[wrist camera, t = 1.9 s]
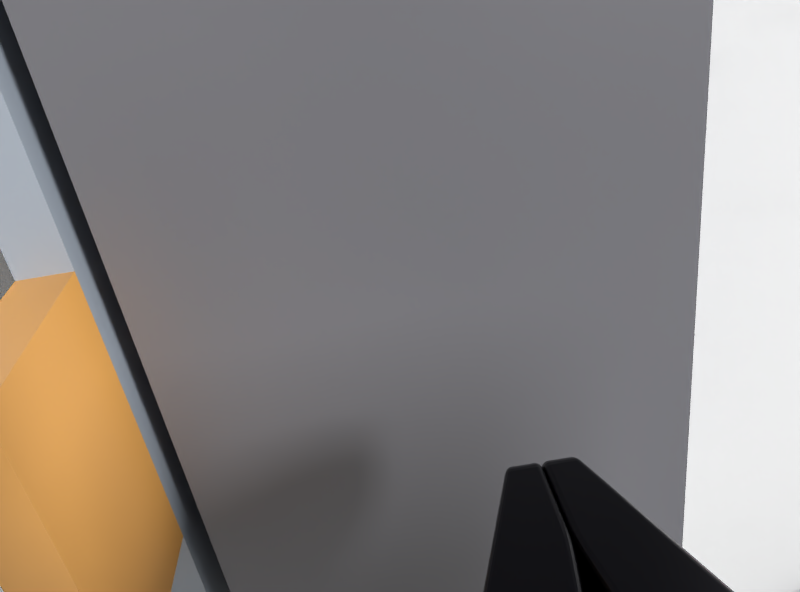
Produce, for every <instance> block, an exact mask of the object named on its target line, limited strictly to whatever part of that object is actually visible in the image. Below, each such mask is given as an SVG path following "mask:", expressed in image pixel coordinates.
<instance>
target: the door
mask: <svg viewBox="0 0 800 592" xmlns="http://www.w3.org/2000/svg"><path fill="white" fill-rule="evenodd" d="M0 250H1V252H2V254H3V256H4V258H5V261H6V263H7V265H8V267H9V269H10V272H11V274H12V276H13V278H14V280H15V282H14V283H13V284H12V286H11V287H10V288H9V289H8V291H7V292H6V293H5V295H4V296H3V297H2V299H1V300H0V586H1V588H2V589H3V591H4V592H230V590H229V587H228V585H227V582H226V580H225V577H224V574H223V572H222V569H221V567H220V564H219V562H218V559H217V556H216V554H215V551H214V549H213V546H212V543H211V541H210V538H209V536H208V533H207V530H206V528H205V525H204V523H203V520H202V517H201V515H200V512H199V510H198V507H197V505H196V502H195V499H194V497H193V494H192V492H191V489H190V486H189V484H188V481H187V479H186V476H185V473H184V471H183V468H182V466H181V463H180V461H179V458H178V455H177V453H176V450H175V448H174V445H173V442H172V440H171V437H170V435H169V432H168V429H167V427H166V424H165V422H164V419H163V417H162V414H161V411H160V409H159V406H158V404H157V401H156V398H155V396H154V393H153V391H152V388H151V385H150V383H149V380H148V378H147V375H146V373H145V370H144V367H143V365H142V362H141V360H140V357H139V354H138V352H137V349H136V347H135V344H134V341H133V339H132V336H131V334H130V331H129V328H128V326H127V323H126V321H125V318H124V316H123V313H122V310H121V308H120V305H119V303H118V300H117V297H116V295H115V292H114V290H113V287H112V284H111V282H110V279H109V277H108V274H107V272H106V269H105V266H104V264H103V261H102V259H101V256H100V253H99V251H98V248H97V246H96V243H95V240H94V238H93V235H92V233H91V230H90V228H89V225H88V222H87V220H86V217H85V215H84V212H83V209H82V207H81V204H80V202H79V199H78V196H77V194H76V191H75V189H74V186H73V184H72V181H71V178H70V176H69V173H68V171H67V168H66V165H65V163H64V160H63V158H62V155H61V152H60V150H59V147H58V145H57V142H56V139H55V137H54V134H53V132H52V129H51V127H50V124H49V121H48V119H47V116H46V114H45V111H44V108H43V106H42V103H41V101H40V98H39V95H38V93H37V90H36V88H35V85H34V83H33V80H32V77H31V75H30V72H29V70H28V67H27V64H26V62H25V59H24V57H23V54H22V51H21V49H20V46H19V44H18V41H17V39H16V36H15V33H14V31H13V28H12V26H11V23H10V20H9V18H8V15H7V13H6V10H5V7H4V5H3V2H2V0H0Z"/></svg>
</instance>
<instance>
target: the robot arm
mask: <svg viewBox="0 0 800 592" xmlns="http://www.w3.org/2000/svg"><path fill="white" fill-rule="evenodd" d="M483 592H734V591H732V590H731V589H730V588H729V587H728V586H727V585H725V584H724V583H723V582H722V581H721V580H720V579H718V578H717V577H716V576H715V575H714V574H713V573H711V572H710V571H709V570H708V569H707V568H706V567H704V566H703V565H702V564H701V563H700V562H699V561H697V560H696V559H695V558H694V557H693V556H692V555H690V554H689V553H688V552H687V551H686V550H685V549H683V548H682V547H681V546H680V545H679V544H678V543H676V542H675V541H674V540H673V539H672V538H671V537H669V536H668V535H667V534H666V533H665V532H664V531H662V530H661V529H660V528H659V527H658V526H657V525H655V524H654V523H653V522H652V521H651V520H650V519H648V518H647V517H646V516H645V515H644V514H643V513H641V512H640V511H639V510H638V509H637V508H636V507H634V506H633V505H632V504H631V503H630V502H629V501H627V500H626V499H625V498H624V497H623V496H622V495H620V494H619V493H618V492H617V491H616V490H615V489H613V488H612V487H611V486H610V485H609V484H608V483H606V482H605V481H604V480H603V479H602V478H601V477H599V476H598V475H597V474H596V473H595V472H594V471H592V470H591V469H590V468H589V467H588V466H587V465H585V464H584V463H583V462H582V461H581V460H579V459H578V458H575V457H568V458H562V459H555V460H549V461H546V462H544V463H543V465H542V467H541V465H540V464H538V463H531V464H525V465H519V466H513V467H509V468H508V469H507V470H506V472H505V477H504V482H503V488H502V493H501V499H500V504H499V509H498V515H497V520H496V526H495V531H494V537H493V542H492V547H491V553H490V558H489V564H488V569H487V575H486V580H485V585H484V591H483Z"/></svg>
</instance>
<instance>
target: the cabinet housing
mask: <svg viewBox="0 0 800 592" xmlns="http://www.w3.org/2000/svg"><path fill="white" fill-rule="evenodd" d="M2 2H3V5H4V7H5V10H6V13H7V15H8V18H9V20H10V23H11V26H12V28H13V31H14V33H15V36H16V39H17V41H18V44H19V46H20V49H21V51H22V54H23V57H24V59H25V62H26V64H27V67H28V70H29V72H30V75H31V77H32V80H33V83H34V85H35V88H36V90H37V93H38V95H39V98H40V101H41V103H42V106H43V108H44V111H45V114H46V116H47V119H48V121H49V124H50V127H51V129H52V132H53V134H54V137H55V139H56V142H57V145H58V147H59V150H60V152H61V155H62V158H63V160H64V163H65V165H66V168H67V171H68V173H69V176H70V178H71V181H72V184H73V186H74V189H75V191H76V194H77V196H78V199H79V202H80V204H81V207H82V209H83V212H84V215H85V217H86V220H87V222H88V225H89V228H90V230H91V233H92V235H93V238H94V240H95V243H96V246H97V248H98V251H99V253H100V256H101V259H102V261H103V264H104V266H105V269H106V272H107V274H108V277H109V279H110V282H111V284H112V287H113V290H114V292H115V295H116V297H117V300H118V303H119V305H120V308H121V310H122V313H123V316H124V318H125V321H126V323H127V326H128V328H129V331H130V334H131V336H132V339H133V341H134V344H135V347H136V349H137V352H138V354H139V357H140V360H141V362H142V365H143V367H144V370H145V373H146V375H147V378H148V380H149V383H150V385H151V388H152V391H153V393H154V396H155V398H156V401H157V404H158V406H159V409H160V411H161V414H162V417H163V419H164V422H165V424H166V427H167V429H168V432H169V435H170V437H171V440H172V442H173V445H174V448H175V450H176V453H177V455H178V458H179V461H180V463H181V466H182V468H183V471H184V473H185V476H186V479H187V481H188V484H189V486H190V489H191V492H192V494H193V497H194V499H195V502H196V505H197V507H198V510H199V512H200V515H201V517H202V520H203V523H204V525H205V528H206V530H207V533H208V536H209V538H210V541H211V543H212V546H213V549H214V551H215V554H216V556H217V559H218V562H219V564H220V567H221V569H222V572H223V574H224V577H225V580H226V582H227V585H228V587H229V590H230V592H483V591H484V585H485V580H486V575H487V569H488V564H489V558H490V553H491V547H492V542H493V537H494V531H495V526H496V520H497V515H498V509H499V504H500V499H501V493H502V488H503V482H504V477H505V472H506V470H507V469H508V468H509V467H513V466H519V465H525V464H531V463H538V464H540V465H541V467H542V465H543V463H544V462H546V461H549V460H555V459H562V458H568V457H575V458H578V459H579V460H581V461H582V462H583V463H584V464H585V465H587V466H588V467H589V468H590V469H591V470H592V471H594V472H595V473H596V474H597V475H598V476H599V477H601V478H602V479H603V480H604V481H605V482H606V483H608V484H609V485H610V486H611V487H612V488H613V489H615V490H616V491H617V492H618V493H619V494H620V495H622V496H623V497H624V498H625V499H626V500H627V501H629V502H630V503H631V504H632V505H633V506H634V507H636V508H637V509H638V510H639V511H640V512H641V513H643V514H644V515H645V516H646V517H647V518H648V519H650V520H651V521H652V522H653V523H654V524H655V525H657V526H658V527H659V528H660V529H661V530H662V531H664V532H665V533H666V534H667V535H668V536H669V537H671V538H672V539H673V540H674V541H675V542H676V543H678V544H679V545H680V546H681V547H682V539H683V521H684V504H685V486H686V469H687V451H688V434H689V416H690V399H691V381H692V364H693V346H694V329H695V311H696V294H697V276H698V259H699V242H700V224H701V207H702V189H703V172H704V154H705V137H706V119H707V102H708V84H709V67H710V49H711V32H712V14H713V0H2Z"/></svg>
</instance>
